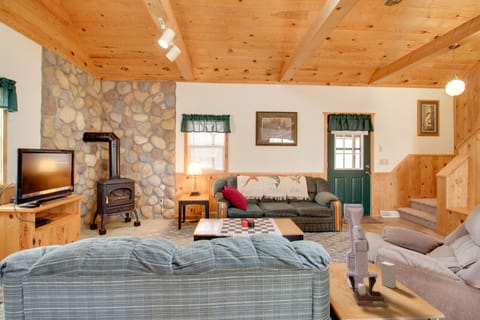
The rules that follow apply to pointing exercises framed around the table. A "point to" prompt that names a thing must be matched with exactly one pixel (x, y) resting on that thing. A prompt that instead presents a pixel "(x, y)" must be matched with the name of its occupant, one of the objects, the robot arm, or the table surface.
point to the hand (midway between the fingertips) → (362, 291)
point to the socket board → (370, 299)
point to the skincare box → (388, 274)
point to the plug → (361, 289)
